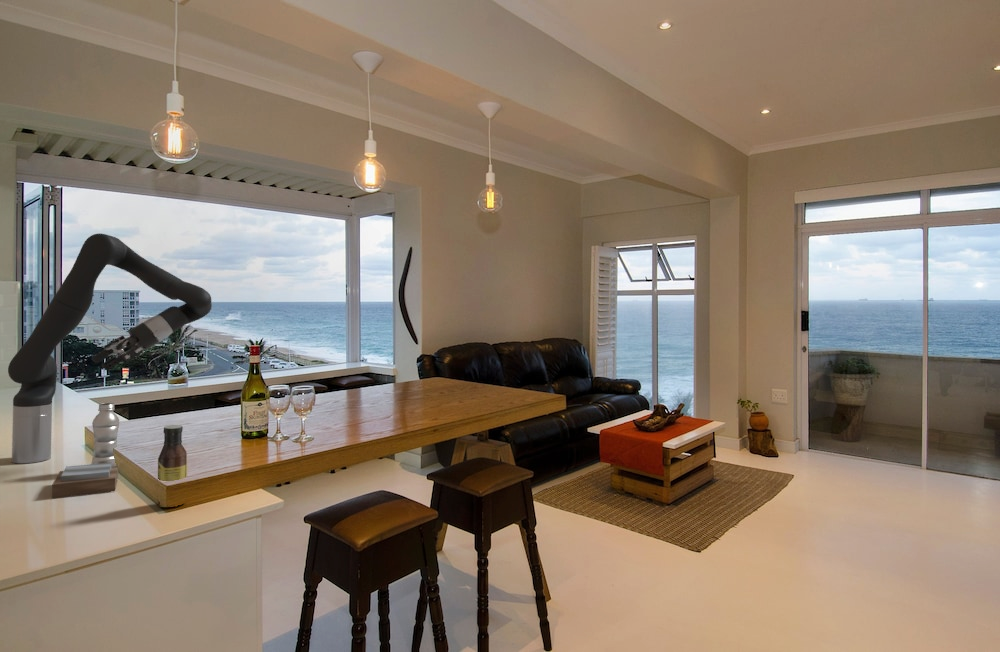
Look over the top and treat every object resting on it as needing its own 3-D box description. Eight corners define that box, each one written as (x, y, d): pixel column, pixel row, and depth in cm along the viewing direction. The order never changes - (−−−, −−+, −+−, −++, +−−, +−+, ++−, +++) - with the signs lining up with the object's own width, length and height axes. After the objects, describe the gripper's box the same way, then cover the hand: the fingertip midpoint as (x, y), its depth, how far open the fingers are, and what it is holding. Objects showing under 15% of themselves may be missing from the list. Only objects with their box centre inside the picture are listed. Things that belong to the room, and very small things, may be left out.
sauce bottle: (165, 500, 139) (167, 422, 139) (191, 500, 140) (193, 423, 140) (151, 509, 133) (153, 428, 133) (178, 510, 133) (180, 428, 133)
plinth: (59, 484, 149) (60, 465, 149) (117, 478, 156) (118, 460, 155) (51, 498, 138) (52, 478, 138) (114, 491, 145) (115, 472, 144)
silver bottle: (124, 470, 163) (126, 403, 163) (101, 476, 157) (102, 406, 156) (108, 467, 165) (110, 401, 165) (85, 473, 159) (87, 404, 158)
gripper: (135, 317, 171) (82, 348, 162) (153, 326, 163) (98, 360, 153) (149, 336, 175) (98, 368, 166) (167, 346, 167) (115, 380, 158)
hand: (98, 364), depth 160 cm, fingers open, 8 cm apart
